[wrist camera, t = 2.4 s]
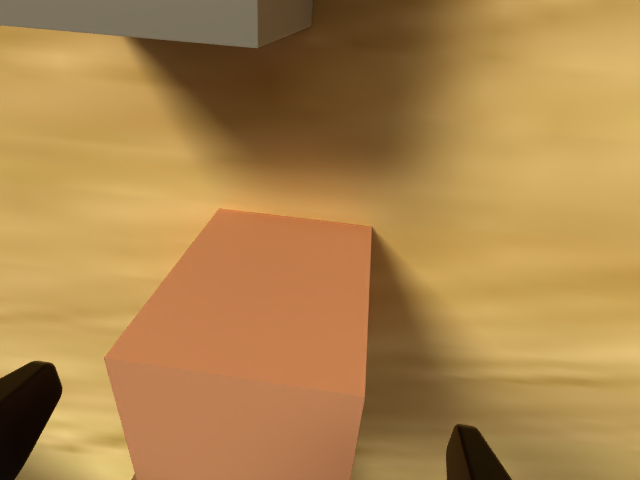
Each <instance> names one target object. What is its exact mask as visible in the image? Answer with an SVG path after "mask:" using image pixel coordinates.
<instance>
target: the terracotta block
mask: <svg viewBox="0 0 640 480" xmlns="http://www.w3.org/2000/svg"><path fill="white" fill-rule="evenodd" d="M371 237H372V227H371V226H363V225H354V224H346V223H337V222H329V221H320V220H312V219H303V218H295V217H286V216H278V215H270V214H261V213H253V212H244V211H236V210H227V209H218V211H217V212H216V213H215V215H214V216H213V217H212V218H211V220H210V221H209V222H208V224H207V225H206V226H205V228H204V229H203V230H202V231H201V233H200V234H199V235H198V237H197V238H196V239H195V241H194V242H193V243H192V244H191V246H190V247H189V248H188V250H187V251H186V252H185V253H184V255H183V256H182V257H181V259H180V260H179V261H178V263H177V264H176V265H175V266H174V268H173V269H172V270H171V272H170V273H169V274H168V276H167V277H166V278H165V279H164V281H163V282H162V283H161V285H160V286H159V287H158V288H157V290H156V291H155V292H154V294H153V295H152V296H151V298H150V299H149V300H148V301H147V303H146V304H145V305H144V307H143V308H142V309H141V311H140V312H139V313H138V314H137V316H136V317H135V318H134V320H133V321H132V322H131V323H130V325H129V326H128V327H127V329H126V330H125V331H124V333H123V334H122V335H121V336H120V338H119V339H118V340H117V342H116V343H115V344H114V345H113V347H112V348H111V349H110V351H109V352H108V353H107V355H106V356H105V357H104V360H105V364H106V367H107V371H108V375H109V378H110V382H111V386H112V390H113V393H114V397H115V401H116V404H117V408H118V412H119V416H120V419H121V423H122V427H123V430H124V434H125V438H126V442H127V445H128V449H129V453H130V457H131V460H132V464H133V468H134V471H135V475H136V479H137V480H350V478H351V472H352V467H353V461H354V455H355V450H356V444H357V439H358V433H359V427H360V422H361V416H362V411H363V405H364V400H365V385H366V360H367V336H368V311H369V286H370V261H371Z"/></svg>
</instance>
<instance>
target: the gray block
mask: <svg viewBox="0 0 640 480" xmlns="http://www.w3.org/2000/svg"><path fill="white" fill-rule="evenodd" d="M312 10H313V0H0V25H4V26H15V27H26V28H37V29H49V30H60V31H71V32H82V33H93V34H104V35H115V36H127V37H138V38H149V39H160V40H171V41H182V42H194V43H205V44H216V45H227V46H238V47H249V48H260V47H262V46H264V45H267V44H269V43H272V42H274V41H277V40H279V39H282V38H284V37H286V36H289V35H291V34H294V33H296V32H299V31H301V30H304V29H306V28H308V27H311V26H312Z"/></svg>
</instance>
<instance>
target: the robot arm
mask: <svg viewBox="0 0 640 480" xmlns="http://www.w3.org/2000/svg"><path fill="white" fill-rule="evenodd" d="M61 394H62V385H61V382H60V379H59V376H58V373H57V370H56V368H55V366H54V365H53V364H52V363H49V362H43V361H33V362H30V363H28V364H26V365H24V366H23V367H21V368H19V369H17V370H15V371H13V372H11V373H10V374H8V375H6V376H4V377H2V378H0V480H15V478H16V477H17V475H18V474H19V472H20V470H21V469H22V467H23V466H24V464H25V462H26V461H27V459H28V457H29V455H30V454H31V452H32V450H33V448H34V446H35V444H36V442H37V441H38V439H39V437H40V435H41V433H42V431H43V429H44V427H45V426H46V424H47V422H48V420H49V418H50V416H51V414H52V412H53V411H54V409H55V407H56V405H57V403H58V401H59V399H60V397H61ZM446 467H447V480H512V479H511V478H510V476H509V475H508V473H507V472H506V470H505V469H504V467H503V466H502V464H501V463H500V461H499V460H498V458H497V457H496V455H495V454H494V452H493V451H492V449H491V448H490V446H489V445H488V444H487V442H486V441H485V439H484V438H483V436H482V435H481V433H480V432H479V430H478V429H477V428H475V427H474V426H468V425H462V424H457V425H456V426H455V427H454V429H453V432H452V435H451V438H450V440H449V443H448V446H447V451H446Z"/></svg>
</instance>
